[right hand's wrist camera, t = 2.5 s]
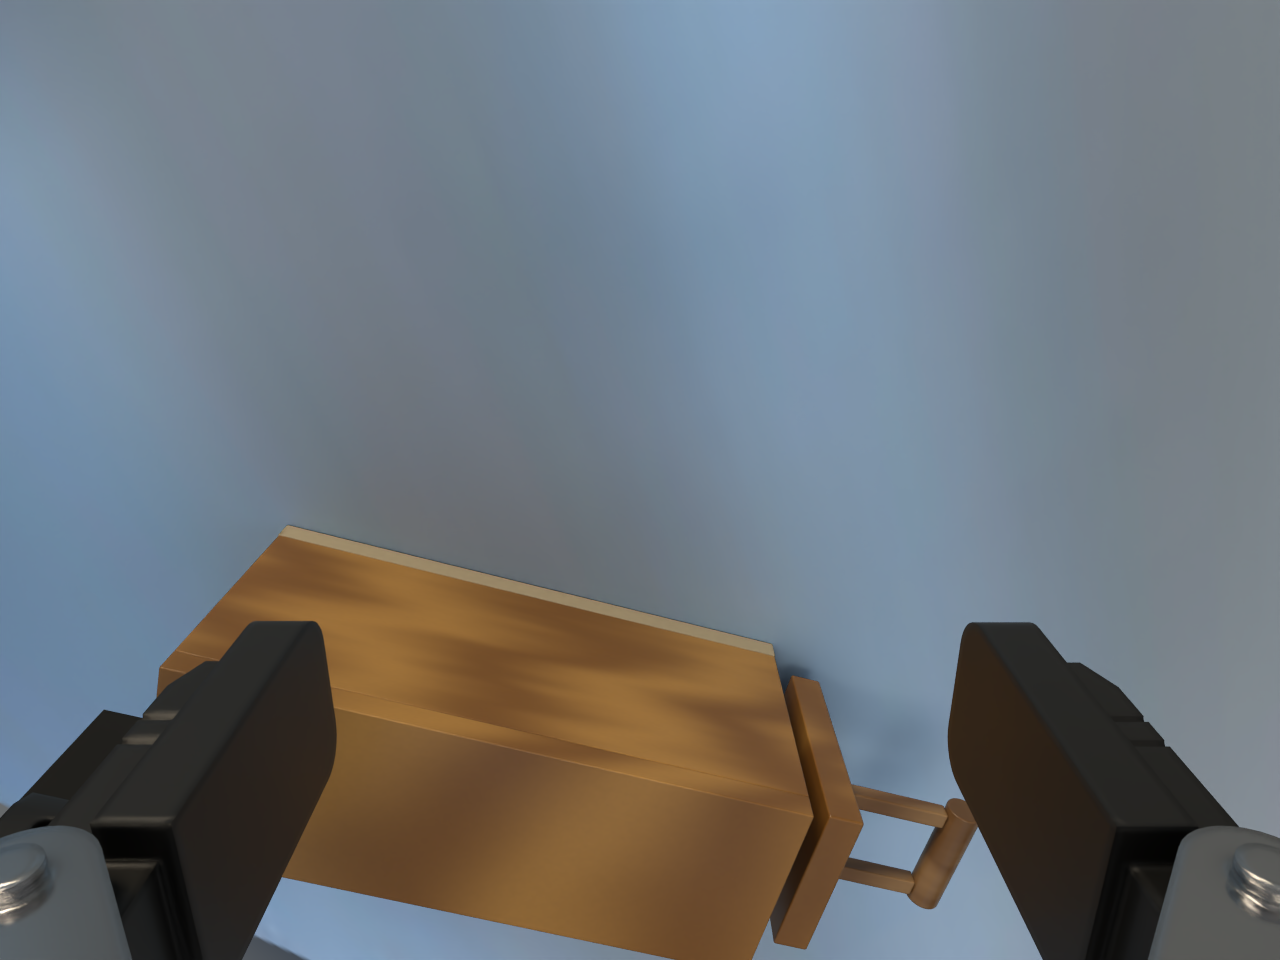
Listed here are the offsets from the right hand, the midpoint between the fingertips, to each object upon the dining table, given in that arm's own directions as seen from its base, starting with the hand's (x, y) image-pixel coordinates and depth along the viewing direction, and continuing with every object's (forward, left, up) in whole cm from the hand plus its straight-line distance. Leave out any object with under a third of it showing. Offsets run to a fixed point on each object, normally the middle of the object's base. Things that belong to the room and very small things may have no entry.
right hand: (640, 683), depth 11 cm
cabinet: (+2, +15, -22) cm, 27 cm away
